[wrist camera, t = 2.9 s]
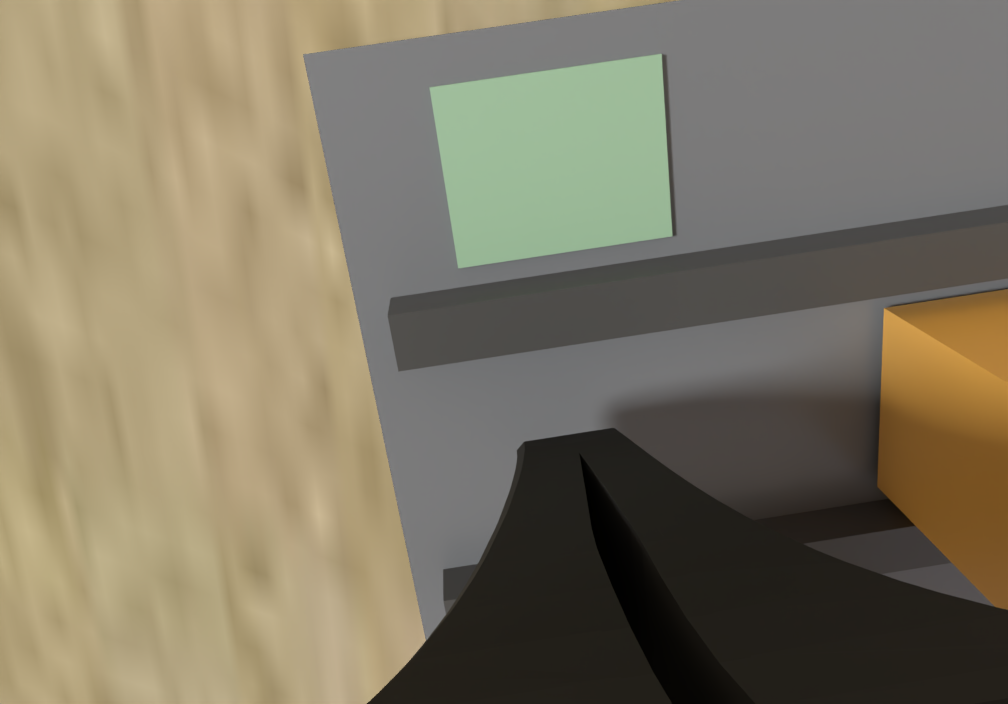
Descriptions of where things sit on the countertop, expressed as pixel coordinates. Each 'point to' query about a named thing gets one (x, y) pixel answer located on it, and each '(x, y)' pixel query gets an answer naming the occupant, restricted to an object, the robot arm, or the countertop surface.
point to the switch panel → (664, 250)
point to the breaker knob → (950, 429)
